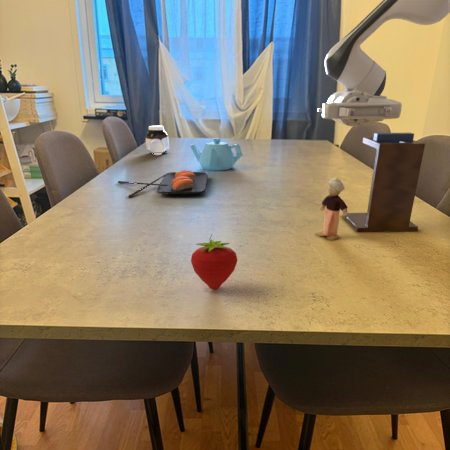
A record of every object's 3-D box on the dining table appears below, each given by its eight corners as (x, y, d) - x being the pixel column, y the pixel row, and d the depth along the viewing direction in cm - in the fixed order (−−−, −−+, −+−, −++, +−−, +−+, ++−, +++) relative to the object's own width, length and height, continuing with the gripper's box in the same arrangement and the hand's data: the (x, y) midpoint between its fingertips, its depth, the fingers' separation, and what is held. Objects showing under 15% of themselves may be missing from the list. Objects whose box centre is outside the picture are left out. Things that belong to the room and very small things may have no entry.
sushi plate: (205, 198, 126) (204, 185, 124) (102, 199, 126) (100, 185, 124) (208, 177, 152) (207, 166, 150) (122, 178, 152) (121, 166, 150)
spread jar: (162, 150, 206) (160, 124, 201) (176, 153, 199) (174, 126, 193) (140, 153, 199) (138, 126, 194) (153, 156, 192) (151, 128, 186)
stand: (396, 215, 109) (411, 136, 100) (417, 231, 99) (435, 143, 90) (342, 216, 109) (351, 137, 100) (357, 232, 98) (369, 144, 89)
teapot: (211, 173, 158) (211, 142, 153) (189, 167, 169) (188, 138, 164) (244, 168, 166) (244, 138, 161) (221, 162, 177) (221, 135, 172)
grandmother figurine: (310, 235, 96) (315, 177, 91) (320, 231, 99) (326, 174, 93) (340, 243, 92) (347, 183, 86) (350, 239, 94) (358, 180, 88)
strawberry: (238, 297, 70) (238, 238, 65) (191, 298, 69) (188, 239, 65) (236, 281, 75) (236, 226, 70) (192, 282, 75) (190, 227, 70)
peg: (394, 209, 104) (407, 131, 95) (401, 215, 99) (416, 134, 91) (361, 210, 103) (372, 132, 95) (367, 215, 99) (379, 134, 91)
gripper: (316, 96, 117) (329, 99, 105) (390, 95, 118) (412, 98, 106) (314, 121, 120) (327, 126, 108) (387, 120, 121) (407, 125, 109)
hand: (370, 112), depth 107 cm, fingers open, 8 cm apart
